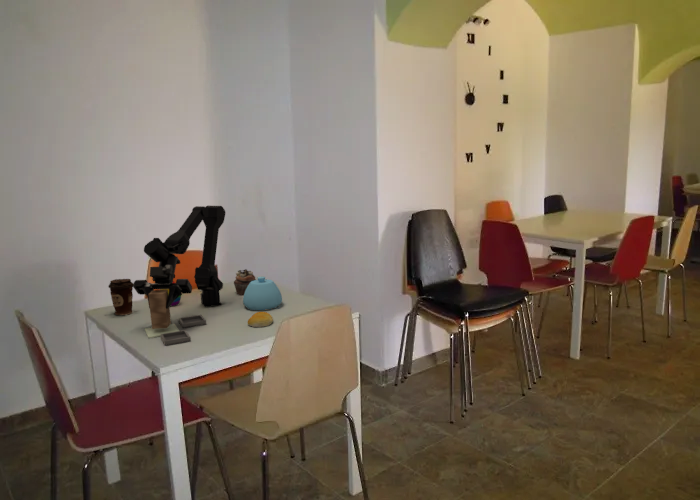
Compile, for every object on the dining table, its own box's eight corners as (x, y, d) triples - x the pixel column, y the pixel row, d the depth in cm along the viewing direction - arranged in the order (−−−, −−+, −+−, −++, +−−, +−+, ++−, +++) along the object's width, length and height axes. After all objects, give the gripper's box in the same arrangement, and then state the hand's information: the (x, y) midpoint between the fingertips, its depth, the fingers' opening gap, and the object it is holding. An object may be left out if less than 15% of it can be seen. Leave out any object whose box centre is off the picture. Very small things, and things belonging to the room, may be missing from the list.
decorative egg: (173, 308, 219) (170, 283, 217) (156, 306, 222) (153, 281, 220) (186, 302, 227) (183, 278, 225) (169, 301, 230) (167, 277, 228)
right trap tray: (201, 318, 205) (201, 314, 204) (206, 324, 197) (205, 320, 197) (178, 322, 201) (178, 318, 201) (182, 328, 194) (182, 324, 194)
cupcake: (262, 292, 239) (260, 269, 237) (244, 297, 232) (242, 273, 230) (247, 288, 246) (246, 266, 244) (229, 293, 238) (228, 270, 237)
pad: (174, 325, 198) (174, 323, 198) (179, 333, 189) (179, 331, 189) (144, 330, 193) (144, 328, 193) (148, 338, 185) (148, 337, 185)
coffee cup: (120, 318, 208) (116, 284, 206) (106, 315, 212) (102, 281, 210) (140, 311, 215) (137, 278, 213) (126, 309, 220) (123, 276, 217)
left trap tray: (185, 334, 188) (185, 329, 188) (190, 341, 181) (190, 336, 180) (161, 338, 184) (160, 334, 184) (164, 345, 177) (164, 341, 177)
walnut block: (170, 323, 194) (167, 289, 191) (167, 328, 189) (163, 293, 186) (156, 324, 193) (152, 290, 191) (152, 328, 188) (148, 294, 186)
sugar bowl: (278, 299, 228) (276, 271, 226) (286, 308, 214) (284, 279, 212) (241, 303, 223) (239, 274, 221) (246, 313, 209) (244, 283, 207)
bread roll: (245, 328, 193) (244, 317, 192) (253, 320, 202) (253, 309, 201) (268, 328, 192) (267, 317, 191) (275, 320, 200) (275, 309, 200)
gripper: (132, 257, 191) (121, 297, 182) (186, 255, 190) (179, 296, 181) (143, 274, 200) (134, 313, 191) (195, 273, 199) (188, 312, 191)
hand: (158, 308), depth 188 cm, fingers closed on walnut block, 5 cm apart
